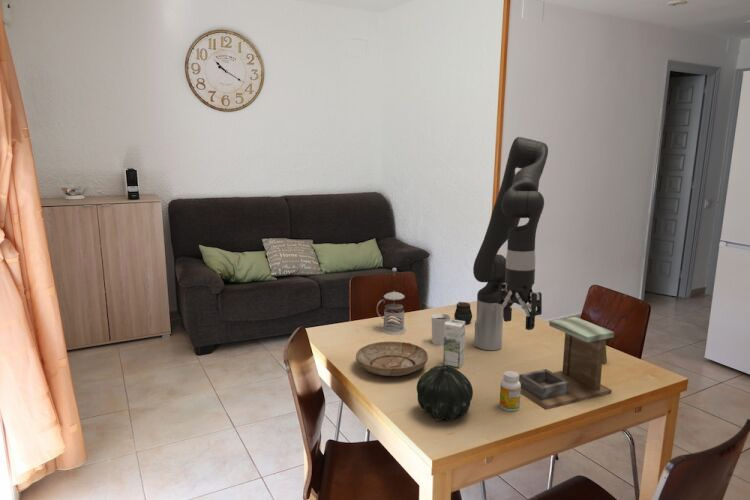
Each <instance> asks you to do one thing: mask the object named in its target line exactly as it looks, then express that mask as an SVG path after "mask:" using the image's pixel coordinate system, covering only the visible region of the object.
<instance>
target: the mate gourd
mask: <svg viewBox="0 0 750 500" xmlns="http://www.w3.org/2000/svg"><path fill="white" fill-rule="evenodd" d="M472 319H473V313H472V309H471V303H469V302H466V301H458V302H457V303H456V308H455V312H454V320H460V321H465V325H467V324H470V323H471V322H472Z"/></svg>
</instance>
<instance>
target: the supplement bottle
mask: <svg viewBox="0 0 750 500" xmlns="http://www.w3.org/2000/svg"><path fill="white" fill-rule="evenodd" d="M519 375H520V374H519V373H518V372H516V371H513V370H507V371H504V372H503V379H501V380H500V385H499V387H500V390H499V407H500V408H501V409H502V410H504V411H507V412H516V411H518V410H519V409H520V407H521V393H520V392H521V384H520V382H519V381H518V380H519Z"/></svg>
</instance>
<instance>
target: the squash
mask: <svg viewBox="0 0 750 500" xmlns="http://www.w3.org/2000/svg"><path fill="white" fill-rule="evenodd" d="M416 393H417V402H418V405H419V407H420V408H421V409H422V410H423V411H425V412H426V413H427V414H428V415H431V416H432V415H433V417H434V419H436V420H437V421H441V420H444V419H445V420H447V421H452V420H454V419H455V418H461V417H463V416H464V415H465V414H467V413H468V412H469V409H470V407H471V402H472V399H473V394H474V390H473V386H472V383H471V381H470V380H469V378H468V377H467V376H466V375H465V374H463V373H462V372H460V371H459V370H457V368H455V367H451V366H446V365H436V366H433V367H431V368H430V369H429V370H428V371H425V372H424V373H423V374H421V376H420V377H419V378H418V381H417V383H416Z"/></svg>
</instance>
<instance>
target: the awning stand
mask: <svg viewBox="0 0 750 500" xmlns="http://www.w3.org/2000/svg"><path fill="white" fill-rule="evenodd" d="M548 326H549V327H551V328H553V329H556V330H558V331H559V332H563V333H564V345H563V358H562V359H563V361H562V370H560V371H555V372H553V371H550V370H549V369H546V368H545V369H539V370H535V371H531V372H526V373H521V374H519V379H518V381H519V382H520V384H521V392H520V394H522V395H523V396H525V397H526V398H528V399H529V400H531V401H533V402H534V403H536V404H537V405H539V406H540V407H542V408H544V409H545V410H549V409H554V408H557V407H561V406H565V405H569V404H572V403H573V404H574V403H577V402H581V401H585V400H590V399H593V398H597V397H601V396H604V395H609V394H612V391H613V389H611V388H609V387H607V386H605V385H603V384H601V383H602V382H601V381H602V380H601V379H602V370H603V364H602V360H603V349H604V339H606V340H608V339H612V338H614V337H615V332H614V331H612V330H611V329H608V328H605V327H602V326H600V325H597V324H594V323H592V322H589V321H587V320H584V319H582V318H579V317H577V316H572V317H566V318H559V319H555V320H554V319H553V320H549V325H548Z"/></svg>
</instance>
